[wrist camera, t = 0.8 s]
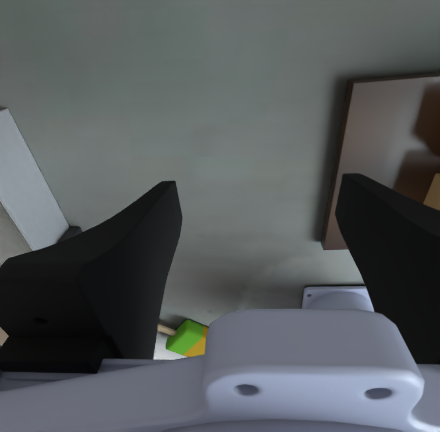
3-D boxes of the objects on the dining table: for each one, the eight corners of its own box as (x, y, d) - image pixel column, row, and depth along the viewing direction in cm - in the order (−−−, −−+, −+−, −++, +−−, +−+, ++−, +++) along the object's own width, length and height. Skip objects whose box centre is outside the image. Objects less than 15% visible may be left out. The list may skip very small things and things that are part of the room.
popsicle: (225, 358, 39) (224, 371, 38) (127, 321, 35) (122, 335, 34) (247, 341, 37) (248, 355, 35) (144, 300, 32) (140, 313, 31)
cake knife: (107, 282, 31) (89, 317, 27) (87, 282, 31) (67, 317, 27) (21, 107, 20) (-28, 127, 16) (-10, 109, 20) (-64, 130, 16)
